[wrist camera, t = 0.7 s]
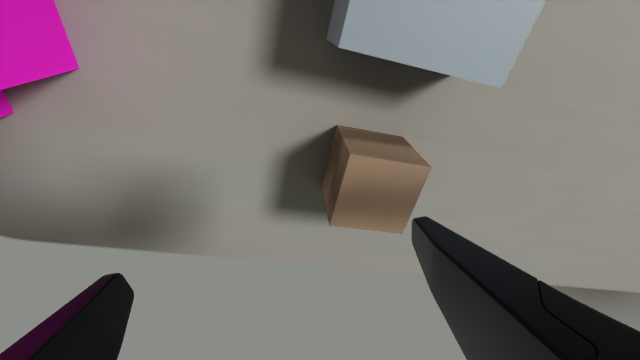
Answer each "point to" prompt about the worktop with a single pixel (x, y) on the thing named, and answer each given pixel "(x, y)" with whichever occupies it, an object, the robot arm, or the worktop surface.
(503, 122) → the worktop surface
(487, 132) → the worktop surface
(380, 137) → the walnut cube
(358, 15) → the slate base block
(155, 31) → the worktop surface
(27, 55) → the toy block
